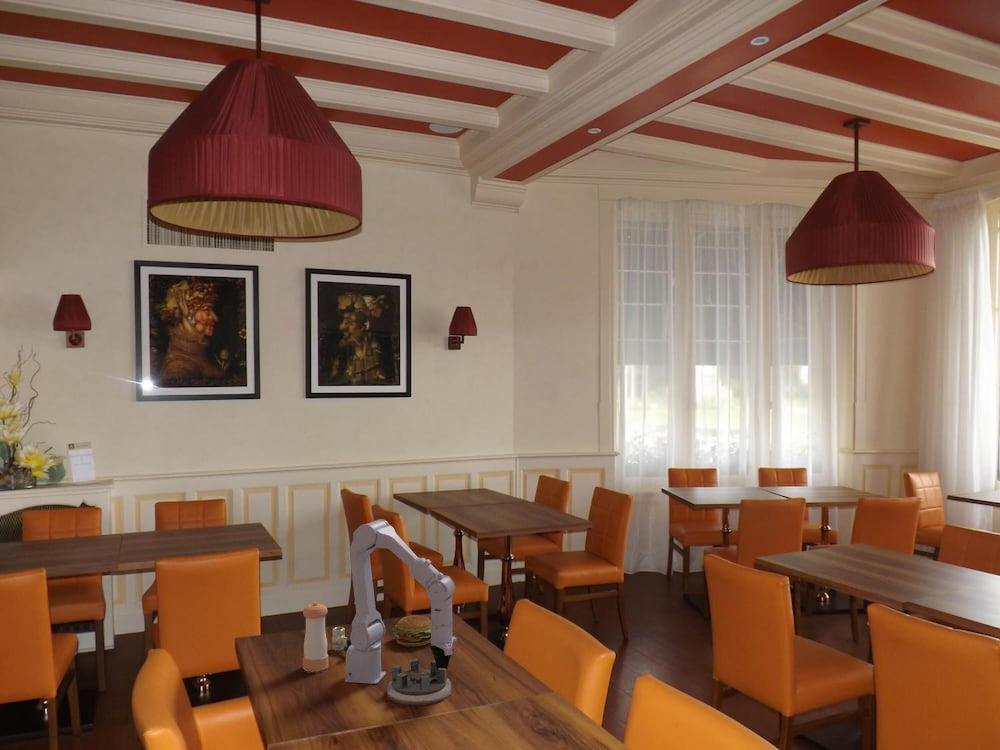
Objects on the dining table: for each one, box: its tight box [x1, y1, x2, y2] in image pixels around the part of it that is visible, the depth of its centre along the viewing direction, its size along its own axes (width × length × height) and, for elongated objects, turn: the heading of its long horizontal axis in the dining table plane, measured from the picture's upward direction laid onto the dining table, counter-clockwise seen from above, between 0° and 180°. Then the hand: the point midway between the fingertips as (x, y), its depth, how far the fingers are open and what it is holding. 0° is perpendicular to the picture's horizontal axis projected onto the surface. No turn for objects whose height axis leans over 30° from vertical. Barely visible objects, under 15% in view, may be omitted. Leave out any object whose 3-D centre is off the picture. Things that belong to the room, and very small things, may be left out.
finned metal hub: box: [391, 657, 448, 695], centre depth 204 cm, size 15×15×4 cm
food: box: [391, 614, 431, 648], centre depth 245 cm, size 14×14×8 cm
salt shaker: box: [302, 601, 329, 672], centre depth 223 cm, size 7×7×19 cm
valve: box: [331, 626, 352, 652], centre depth 235 cm, size 7×7×12 cm
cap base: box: [386, 677, 452, 707], centre depth 204 cm, size 17×17×2 cm
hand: (442, 673), depth 207 cm, fingers closed
